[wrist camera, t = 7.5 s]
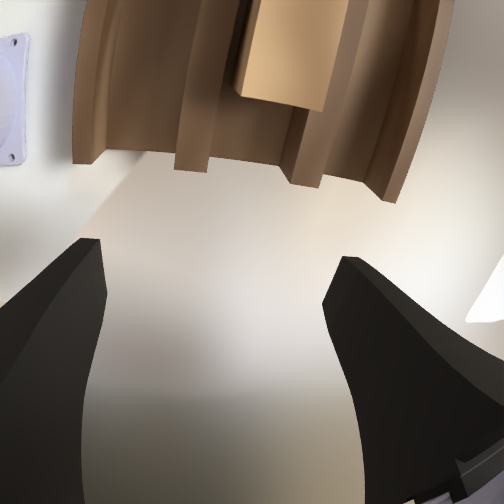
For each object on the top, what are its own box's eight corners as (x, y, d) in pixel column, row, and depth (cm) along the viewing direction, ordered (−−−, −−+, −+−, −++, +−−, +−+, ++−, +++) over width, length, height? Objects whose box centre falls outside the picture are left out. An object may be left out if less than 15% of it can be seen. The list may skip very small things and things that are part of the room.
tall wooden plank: (230, 85, 13) (241, 96, 9) (264, -64, 8) (288, -104, 4) (288, 95, 14) (322, 112, 10) (321, -49, 9) (364, -78, 5)
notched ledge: (92, 145, 14) (72, 163, 12) (144, -105, 6) (135, -128, 3) (372, 181, 18) (395, 203, 16) (428, -32, 9) (458, -36, 7)
